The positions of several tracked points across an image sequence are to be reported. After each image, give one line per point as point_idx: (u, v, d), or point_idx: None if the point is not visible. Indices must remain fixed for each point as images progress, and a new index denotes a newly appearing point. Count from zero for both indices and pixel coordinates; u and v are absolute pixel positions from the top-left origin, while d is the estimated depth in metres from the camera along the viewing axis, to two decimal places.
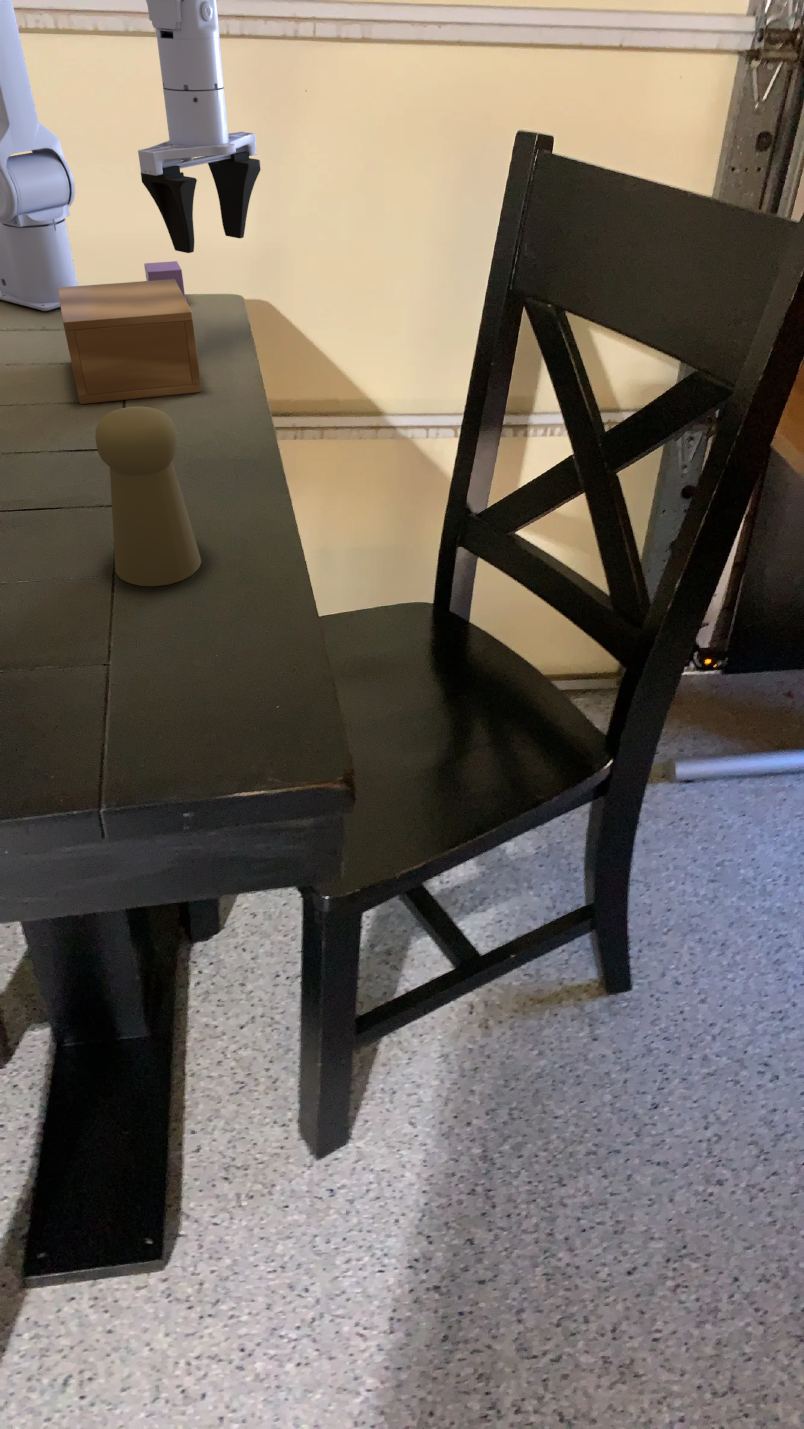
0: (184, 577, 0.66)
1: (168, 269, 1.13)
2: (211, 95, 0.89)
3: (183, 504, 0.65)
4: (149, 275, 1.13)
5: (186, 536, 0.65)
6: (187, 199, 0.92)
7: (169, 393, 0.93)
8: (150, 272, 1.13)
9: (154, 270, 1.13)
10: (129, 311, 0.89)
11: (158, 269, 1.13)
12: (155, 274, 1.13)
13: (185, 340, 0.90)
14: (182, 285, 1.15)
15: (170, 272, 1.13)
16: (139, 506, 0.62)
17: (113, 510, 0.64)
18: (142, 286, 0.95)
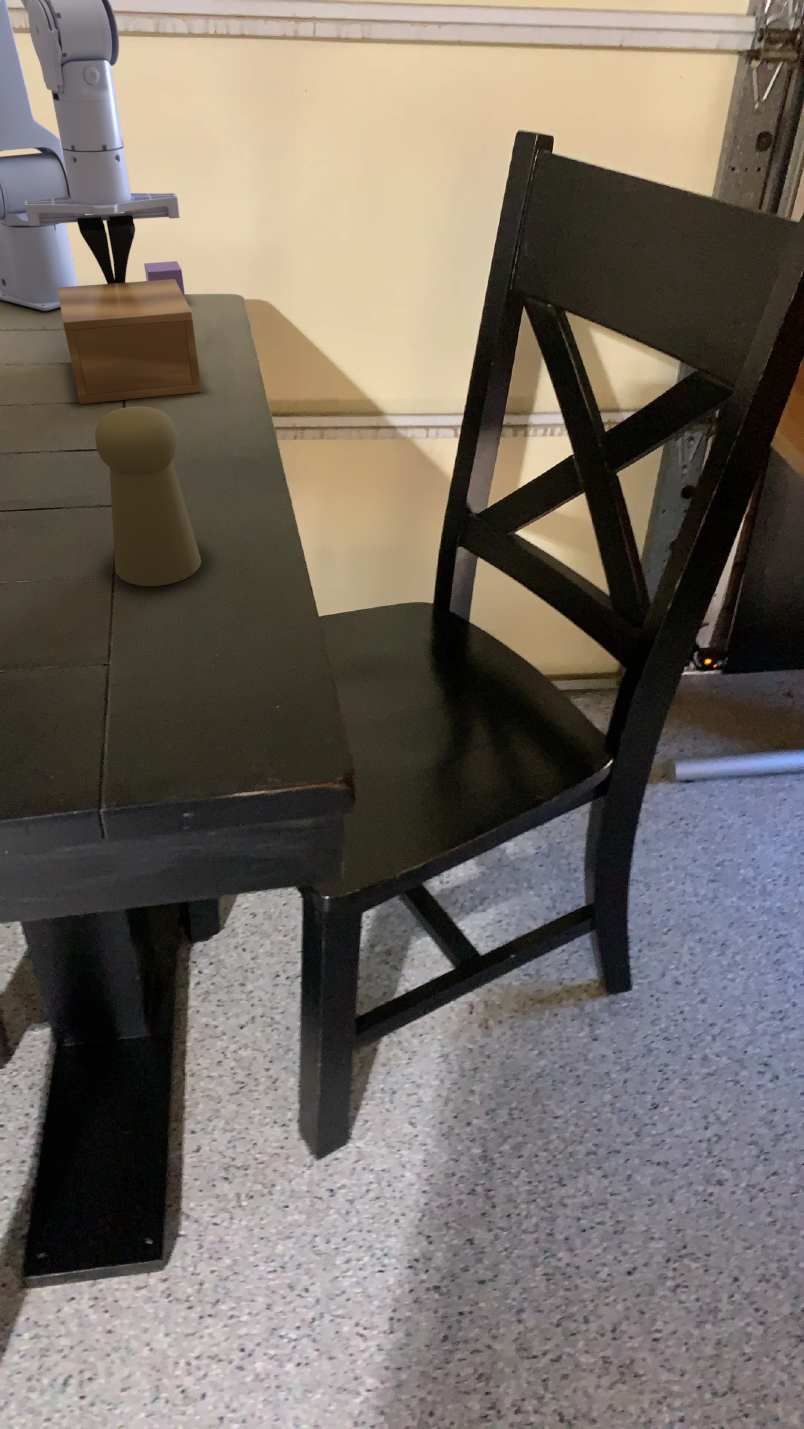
0: (184, 577, 0.66)
1: (168, 269, 1.13)
2: (89, 156, 0.89)
3: (183, 504, 0.65)
4: (149, 275, 1.13)
5: (186, 536, 0.65)
6: (100, 250, 0.94)
7: (169, 393, 0.93)
8: (150, 272, 1.13)
9: (154, 270, 1.13)
10: (129, 311, 0.89)
11: (158, 269, 1.13)
12: (155, 274, 1.13)
13: (185, 340, 0.90)
14: (182, 285, 1.15)
15: (170, 272, 1.13)
16: (139, 506, 0.62)
17: (113, 510, 0.64)
18: (142, 286, 0.95)
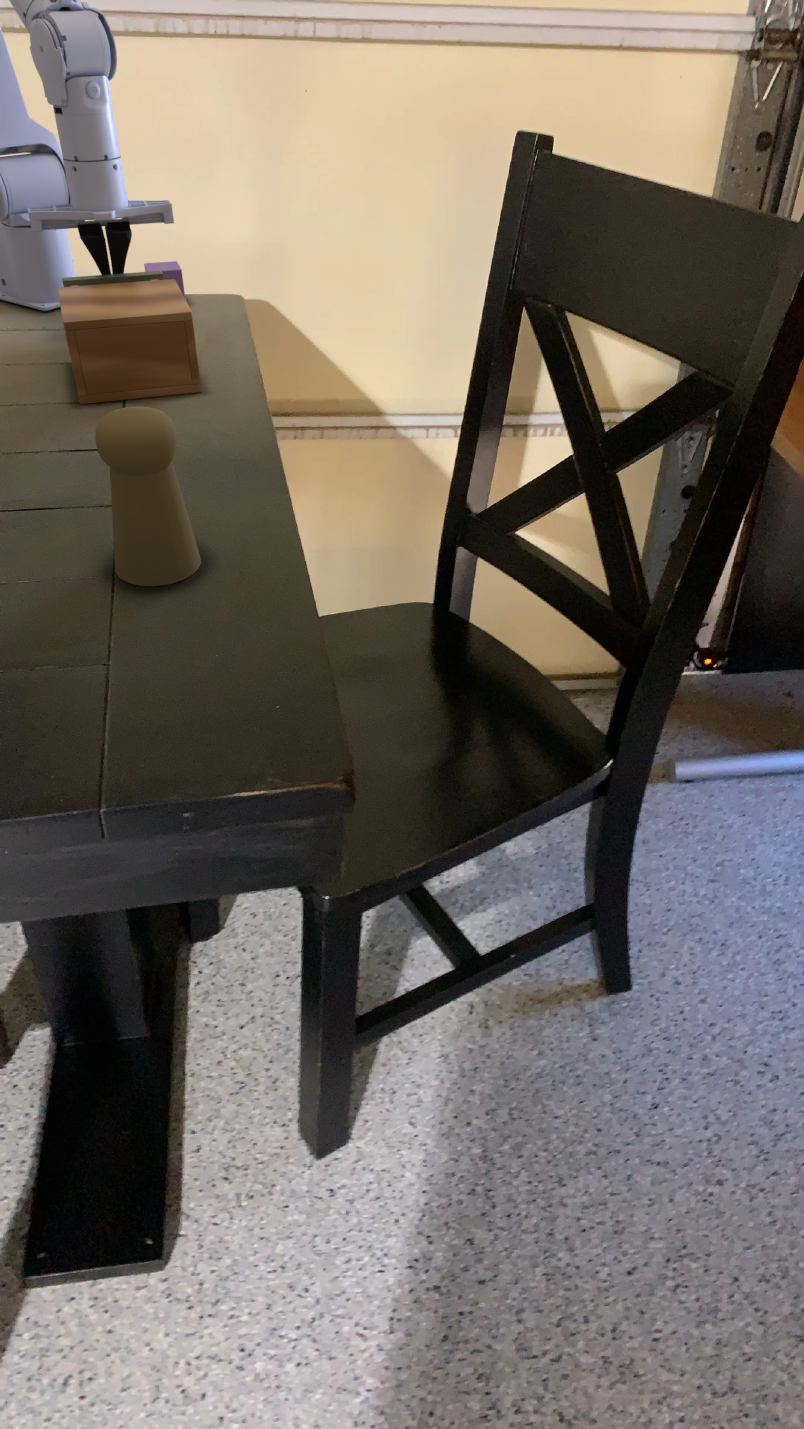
0: (184, 577, 0.66)
1: (168, 269, 1.13)
2: (88, 166, 0.94)
3: (183, 504, 0.65)
4: None
5: (186, 536, 0.65)
6: (99, 254, 1.00)
7: (169, 393, 0.93)
8: None
9: (154, 270, 1.13)
10: (129, 311, 0.89)
11: (158, 269, 1.13)
12: None
13: (185, 340, 0.90)
14: (182, 285, 1.15)
15: (170, 272, 1.13)
16: (139, 506, 0.62)
17: (113, 510, 0.64)
18: (142, 286, 0.95)
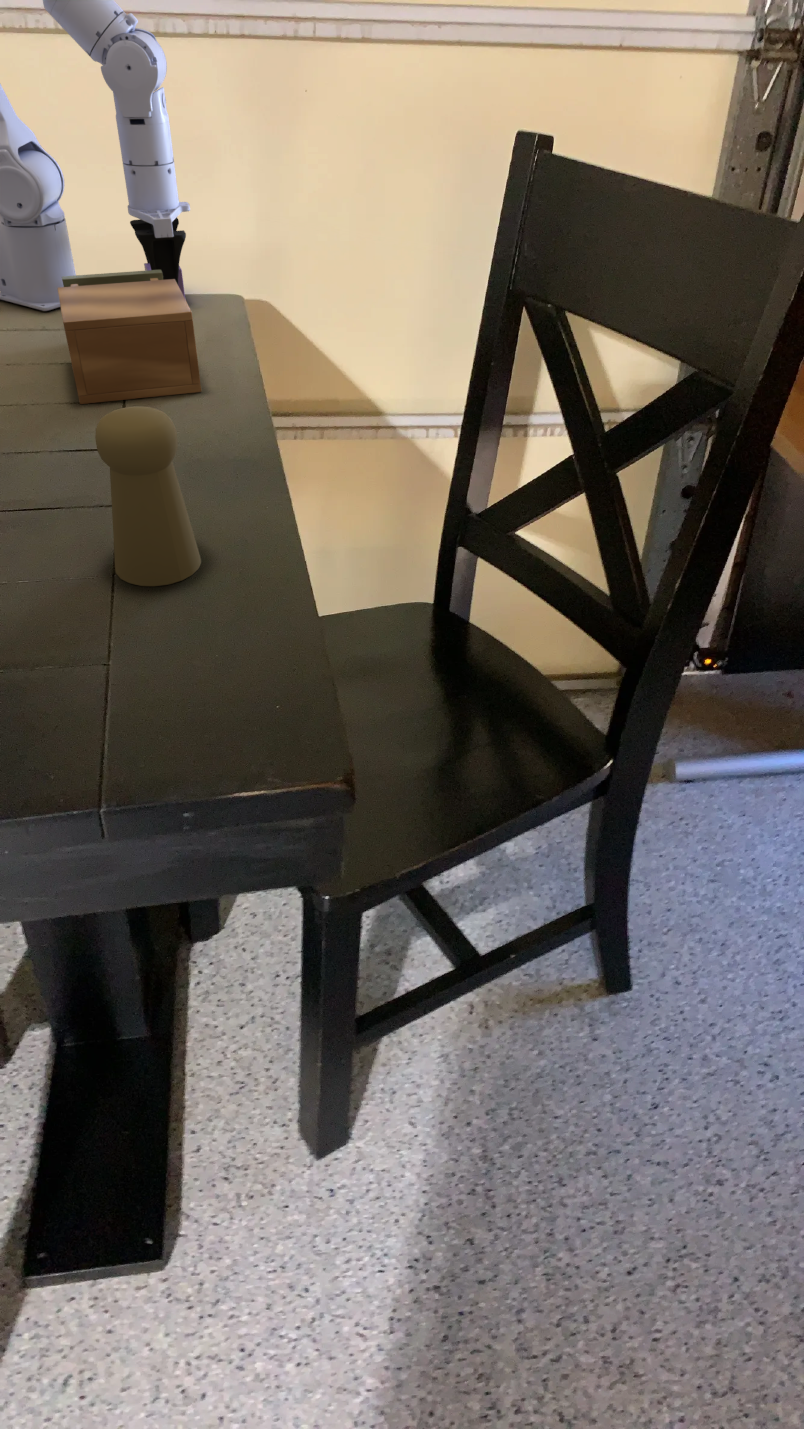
0: (184, 577, 0.66)
1: None
2: (174, 165, 1.08)
3: (183, 504, 0.65)
4: None
5: (186, 536, 0.65)
6: None
7: (169, 393, 0.93)
8: None
9: None
10: (129, 311, 0.89)
11: None
12: None
13: (185, 340, 0.90)
14: (182, 285, 1.15)
15: None
16: (139, 506, 0.62)
17: (113, 510, 0.64)
18: (142, 286, 0.95)
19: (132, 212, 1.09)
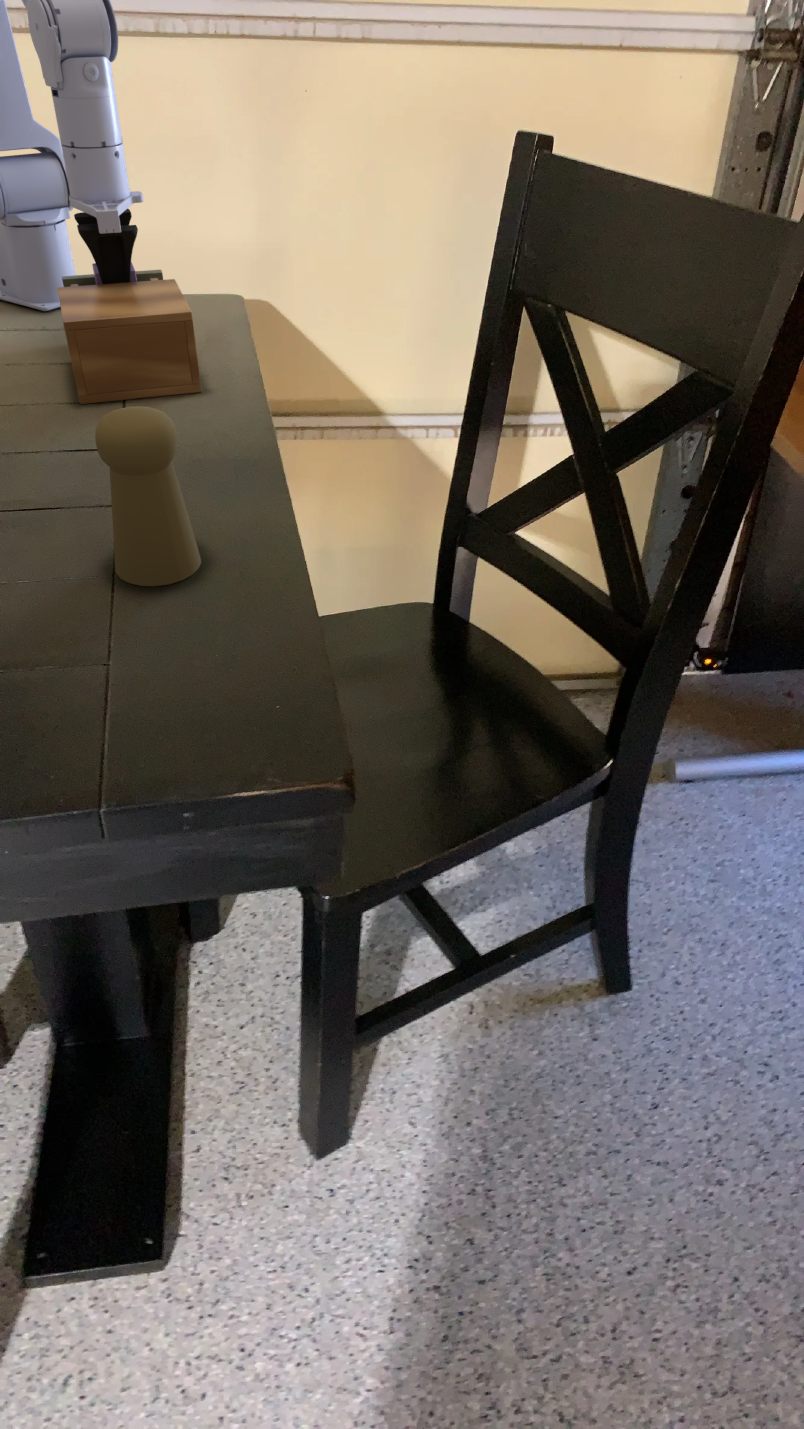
0: (184, 577, 0.66)
1: None
2: (123, 148, 0.91)
3: (183, 504, 0.65)
4: (97, 277, 0.96)
5: (186, 536, 0.65)
6: None
7: (169, 393, 0.93)
8: (98, 274, 0.96)
9: None
10: (129, 311, 0.89)
11: None
12: None
13: (185, 340, 0.90)
14: None
15: None
16: (139, 506, 0.62)
17: (113, 510, 0.64)
18: (142, 286, 0.95)
19: (74, 203, 0.92)
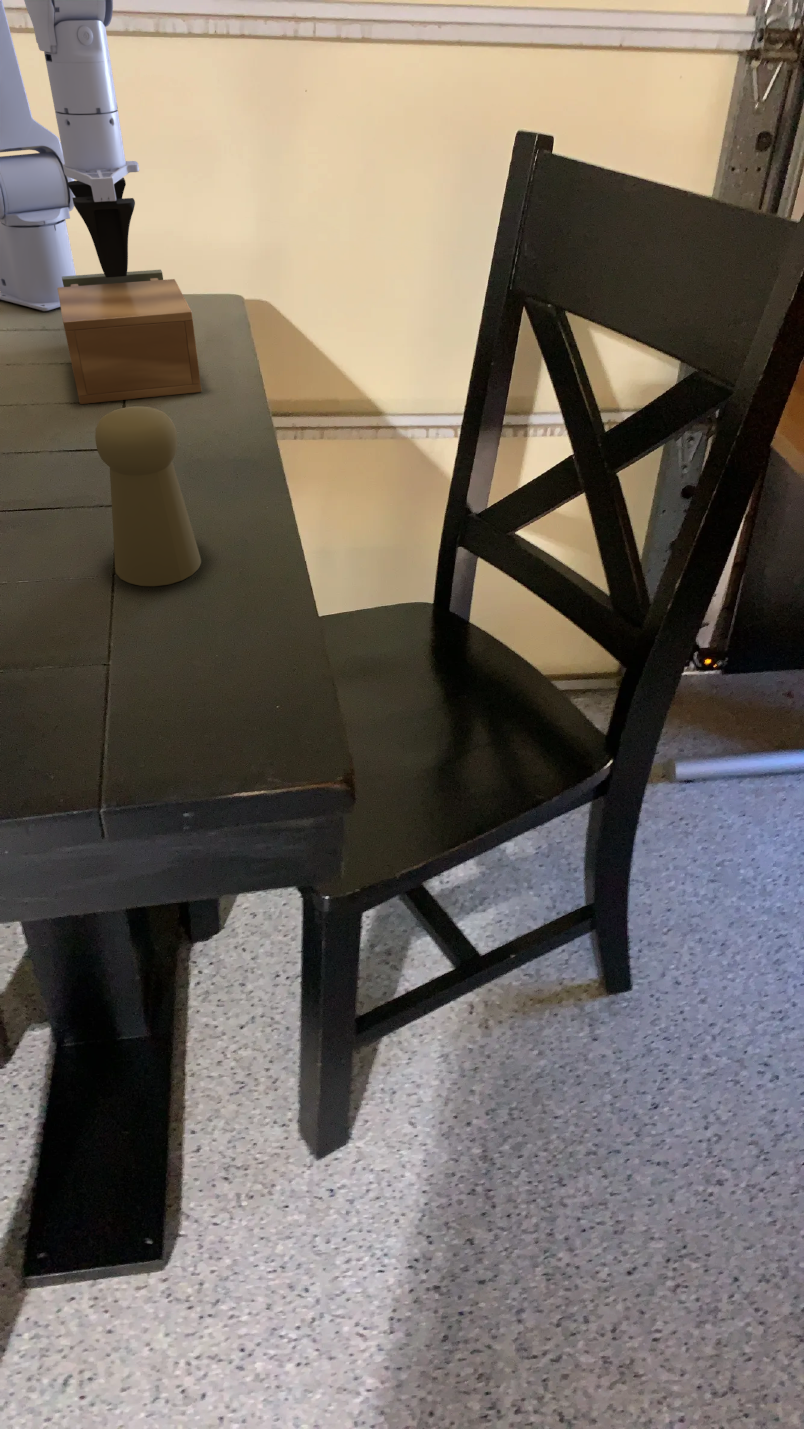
0: (184, 577, 0.66)
1: None
2: (118, 115, 0.90)
3: (183, 504, 0.65)
4: None
5: (186, 536, 0.65)
6: None
7: (169, 393, 0.93)
8: None
9: None
10: (129, 311, 0.89)
11: None
12: None
13: (185, 340, 0.90)
14: None
15: None
16: (139, 506, 0.62)
17: (113, 510, 0.64)
18: (142, 286, 0.95)
19: (68, 172, 0.90)
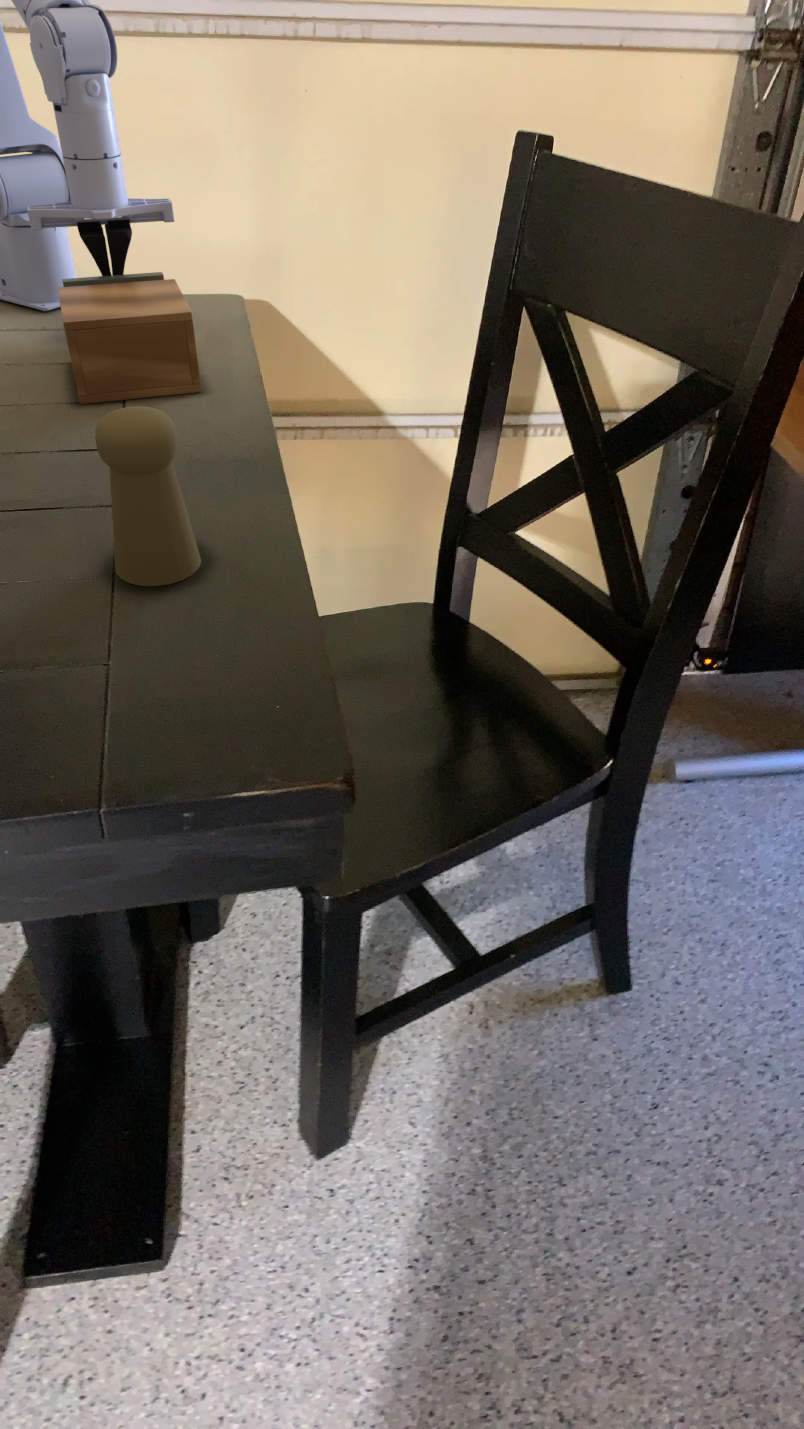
0: (184, 577, 0.66)
1: None
2: (88, 164, 0.94)
3: (183, 504, 0.65)
4: None
5: (186, 536, 0.65)
6: (98, 252, 0.99)
7: (169, 393, 0.93)
8: None
9: None
10: (129, 311, 0.89)
11: None
12: None
13: (185, 340, 0.90)
14: None
15: None
16: (139, 506, 0.62)
17: (113, 510, 0.64)
18: (142, 286, 0.95)
19: None
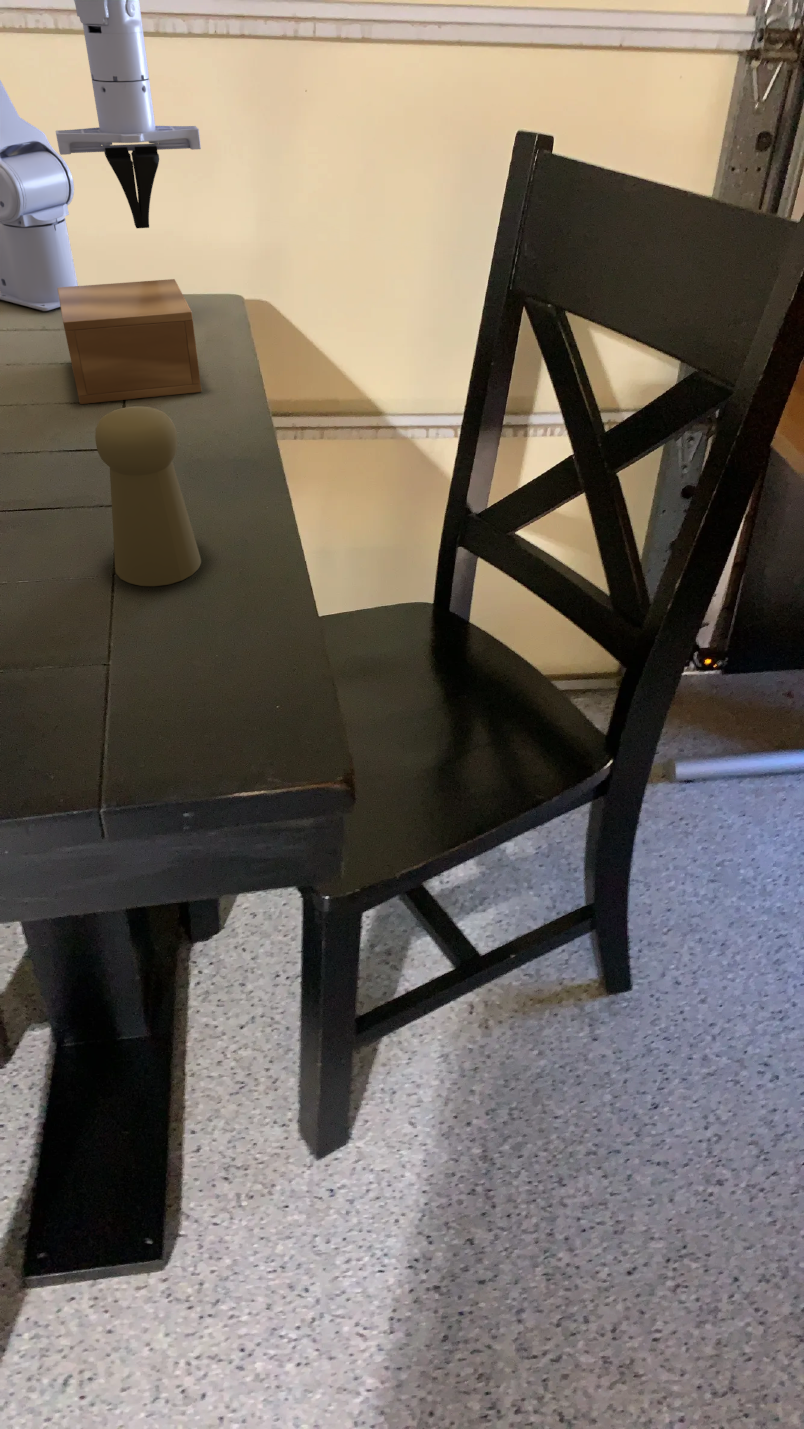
0: (184, 577, 0.66)
1: None
2: (117, 86, 0.95)
3: (183, 504, 0.65)
4: None
5: (186, 536, 0.65)
6: (126, 178, 1.00)
7: (169, 393, 0.93)
8: None
9: None
10: (129, 311, 0.89)
11: None
12: None
13: (185, 340, 0.90)
14: None
15: None
16: (139, 506, 0.62)
17: (113, 510, 0.64)
18: (142, 286, 0.95)
19: None
